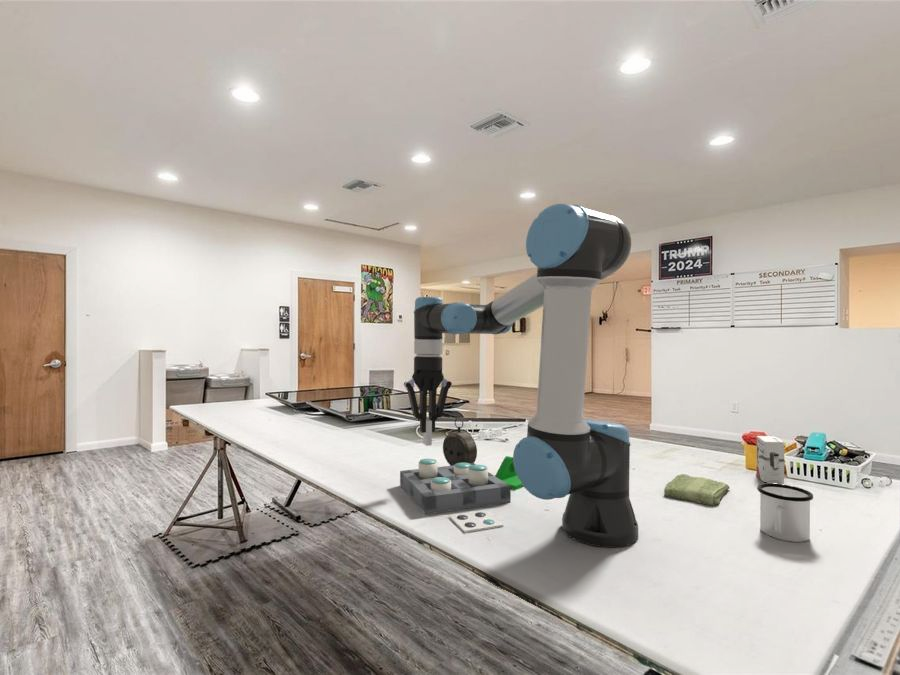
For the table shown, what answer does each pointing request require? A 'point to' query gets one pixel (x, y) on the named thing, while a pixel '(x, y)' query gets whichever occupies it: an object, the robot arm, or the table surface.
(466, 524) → the tile
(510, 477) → the bracket
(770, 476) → the ink box
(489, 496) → the button board
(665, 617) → the table surface
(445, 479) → the button
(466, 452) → the alarm clock
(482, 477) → the button
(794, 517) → the white oval bin
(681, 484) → the washcloth
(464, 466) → the button
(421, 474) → the button
